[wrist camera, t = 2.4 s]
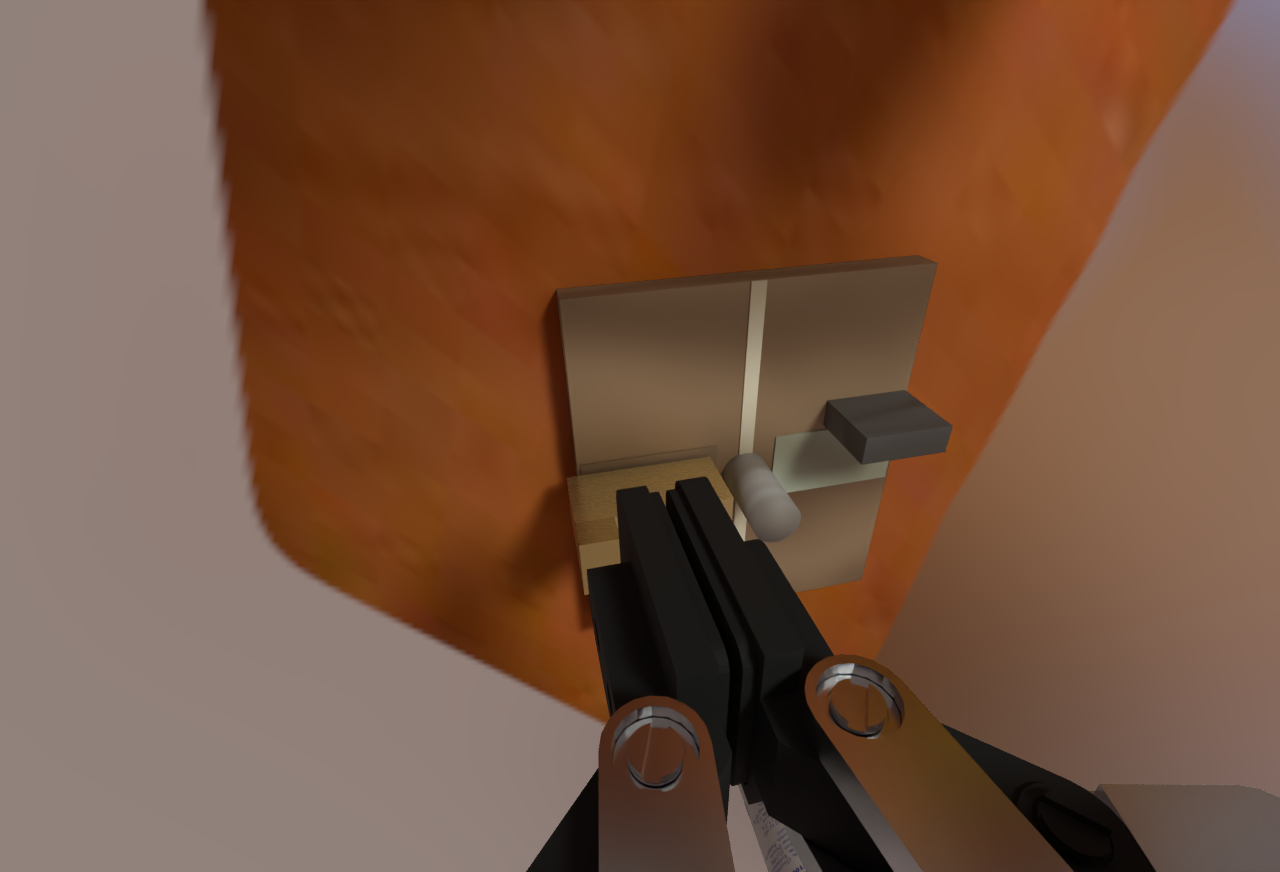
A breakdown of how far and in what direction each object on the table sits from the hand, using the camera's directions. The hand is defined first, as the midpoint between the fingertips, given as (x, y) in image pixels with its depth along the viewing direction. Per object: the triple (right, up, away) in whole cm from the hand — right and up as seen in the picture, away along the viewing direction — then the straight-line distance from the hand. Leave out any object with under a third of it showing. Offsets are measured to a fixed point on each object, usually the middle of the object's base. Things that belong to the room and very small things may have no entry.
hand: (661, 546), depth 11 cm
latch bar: (0, 0, +9) cm, 9 cm away
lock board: (+3, +1, +11) cm, 12 cm away
